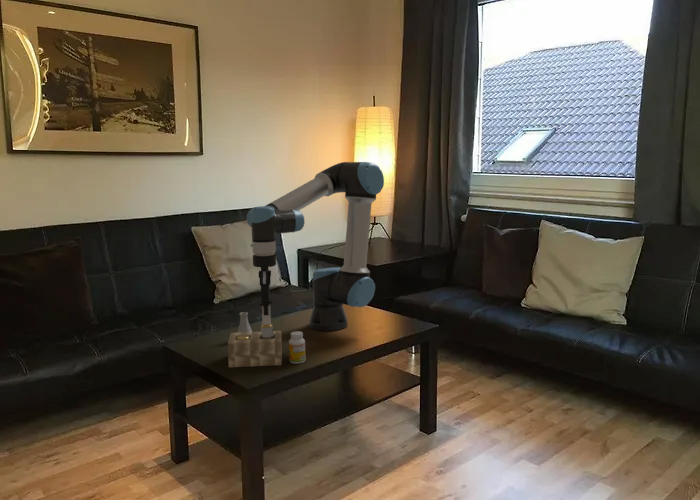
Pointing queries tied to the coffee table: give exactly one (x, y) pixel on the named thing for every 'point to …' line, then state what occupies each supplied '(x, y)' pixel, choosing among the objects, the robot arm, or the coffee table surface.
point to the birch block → (254, 350)
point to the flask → (244, 323)
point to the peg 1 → (243, 337)
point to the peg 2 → (267, 331)
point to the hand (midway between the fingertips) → (266, 323)
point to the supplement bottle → (297, 348)
